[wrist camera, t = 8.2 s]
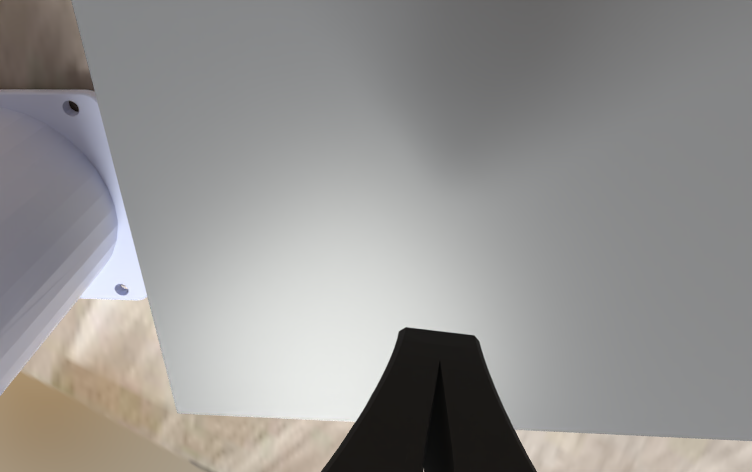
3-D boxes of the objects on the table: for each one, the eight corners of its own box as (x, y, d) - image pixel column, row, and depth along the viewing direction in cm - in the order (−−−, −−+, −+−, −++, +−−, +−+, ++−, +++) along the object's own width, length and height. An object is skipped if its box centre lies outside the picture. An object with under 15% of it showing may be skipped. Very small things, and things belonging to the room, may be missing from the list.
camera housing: (233, 294, 24) (177, 413, 19) (172, -58, 18) (66, -21, 13) (786, 311, 23) (886, 447, 17) (929, -72, 16) (1152, -36, 11)
